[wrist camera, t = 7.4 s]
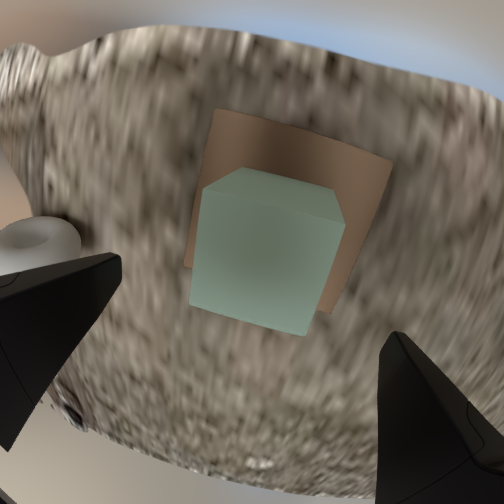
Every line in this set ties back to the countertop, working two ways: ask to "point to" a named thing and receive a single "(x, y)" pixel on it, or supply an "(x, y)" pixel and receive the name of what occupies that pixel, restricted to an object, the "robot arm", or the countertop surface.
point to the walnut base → (298, 178)
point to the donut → (37, 243)
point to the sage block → (265, 249)
